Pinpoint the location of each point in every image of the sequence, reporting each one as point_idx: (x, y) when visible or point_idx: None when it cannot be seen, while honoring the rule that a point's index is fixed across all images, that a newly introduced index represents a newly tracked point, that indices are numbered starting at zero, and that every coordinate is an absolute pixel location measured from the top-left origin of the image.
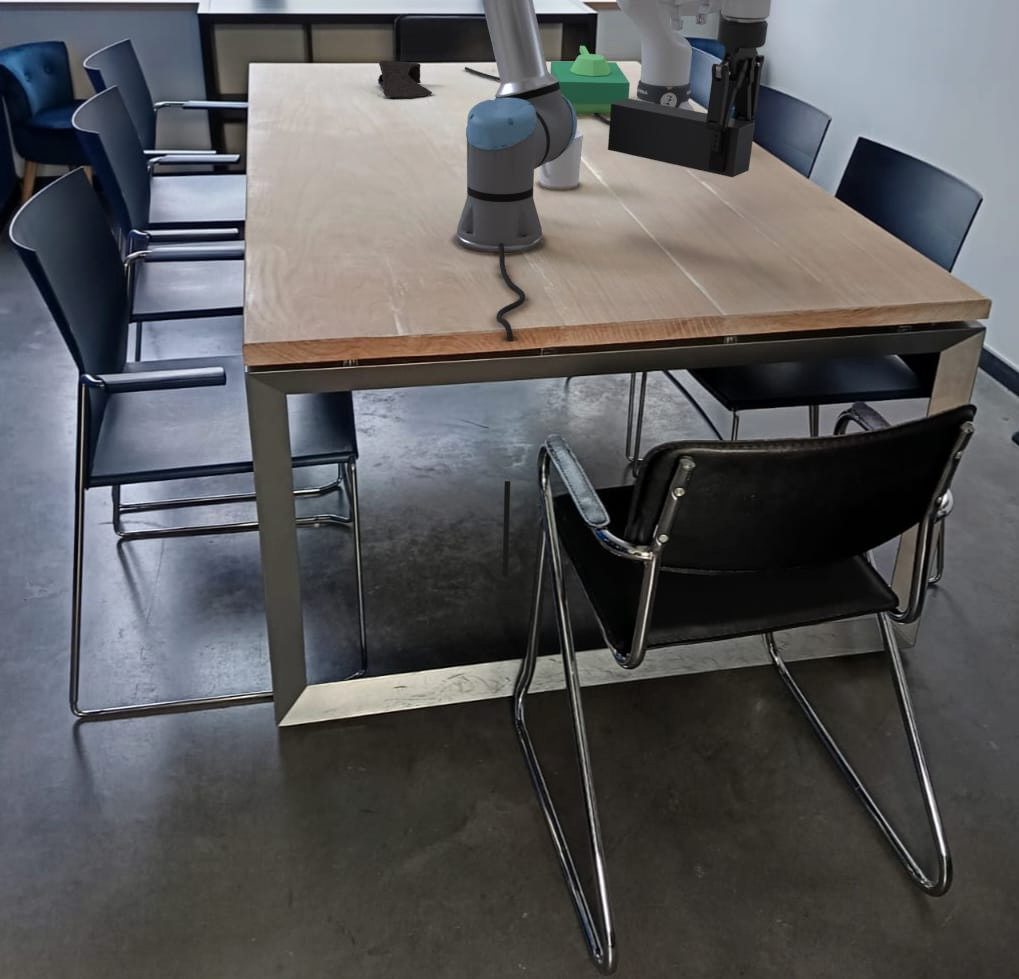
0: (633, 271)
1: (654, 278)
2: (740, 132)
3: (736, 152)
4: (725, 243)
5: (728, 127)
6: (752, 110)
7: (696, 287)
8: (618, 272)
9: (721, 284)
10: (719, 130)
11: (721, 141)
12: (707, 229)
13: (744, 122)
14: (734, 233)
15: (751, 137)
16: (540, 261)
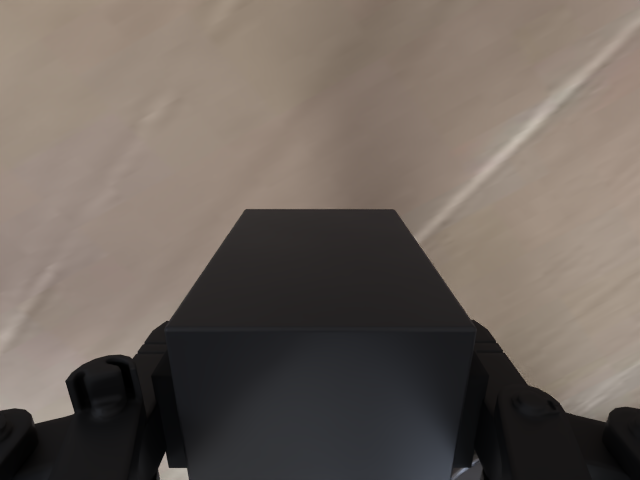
0: (529, 264)
1: (547, 212)
2: (430, 307)
3: (417, 248)
4: (242, 208)
5: (463, 406)
6: (1, 474)
7: (554, 112)
8: (550, 282)
9: (505, 75)
10: (570, 415)
11: (477, 354)
12: (190, 282)
13: (240, 389)
14: (166, 226)
15: (230, 272)
16: (566, 404)
